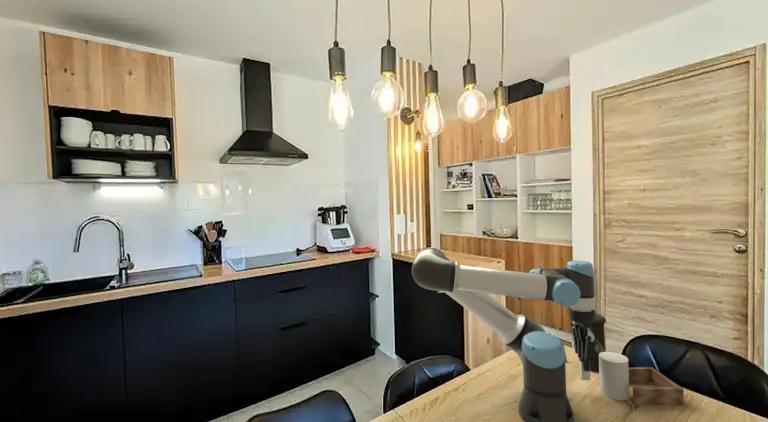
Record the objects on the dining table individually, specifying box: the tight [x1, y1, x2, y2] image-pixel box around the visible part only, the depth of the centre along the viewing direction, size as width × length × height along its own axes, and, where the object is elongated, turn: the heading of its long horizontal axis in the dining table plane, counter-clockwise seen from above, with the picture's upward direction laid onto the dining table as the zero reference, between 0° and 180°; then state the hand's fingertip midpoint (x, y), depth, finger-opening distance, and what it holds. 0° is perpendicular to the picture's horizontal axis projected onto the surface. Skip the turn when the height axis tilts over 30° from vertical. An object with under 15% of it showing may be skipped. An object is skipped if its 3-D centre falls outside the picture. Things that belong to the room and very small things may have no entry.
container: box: [590, 313, 607, 373], centre depth 134 cm, size 9×9×20 cm
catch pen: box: [629, 366, 685, 406], centre depth 115 cm, size 14×14×5 cm
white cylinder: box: [598, 351, 630, 401], centre depth 116 cm, size 8×8×12 cm
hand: (585, 378), depth 117 cm, fingers closed
